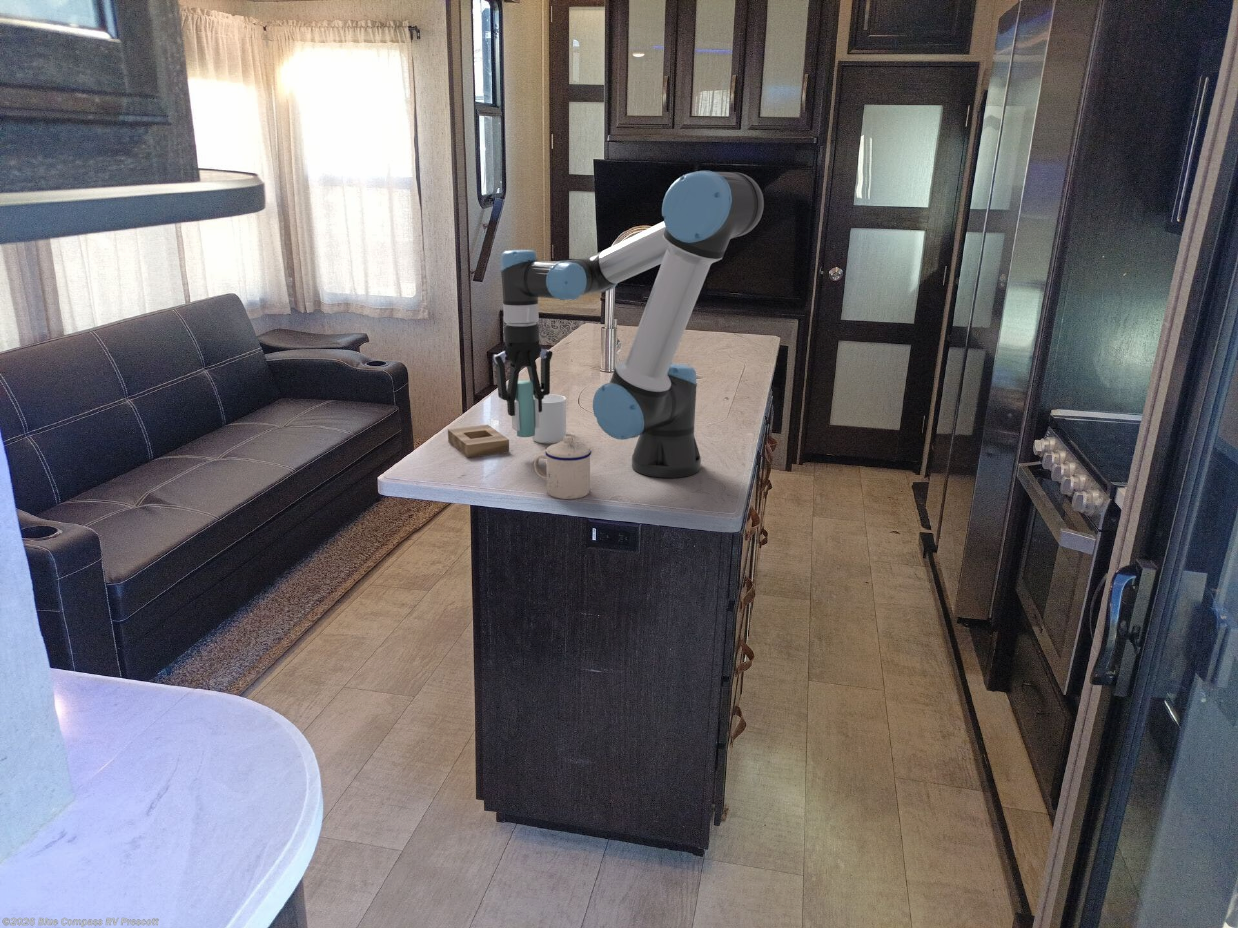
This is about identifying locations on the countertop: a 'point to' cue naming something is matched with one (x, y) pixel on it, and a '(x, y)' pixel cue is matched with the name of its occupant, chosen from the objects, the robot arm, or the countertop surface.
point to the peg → (525, 408)
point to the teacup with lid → (566, 469)
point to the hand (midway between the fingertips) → (525, 427)
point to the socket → (478, 441)
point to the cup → (551, 420)
